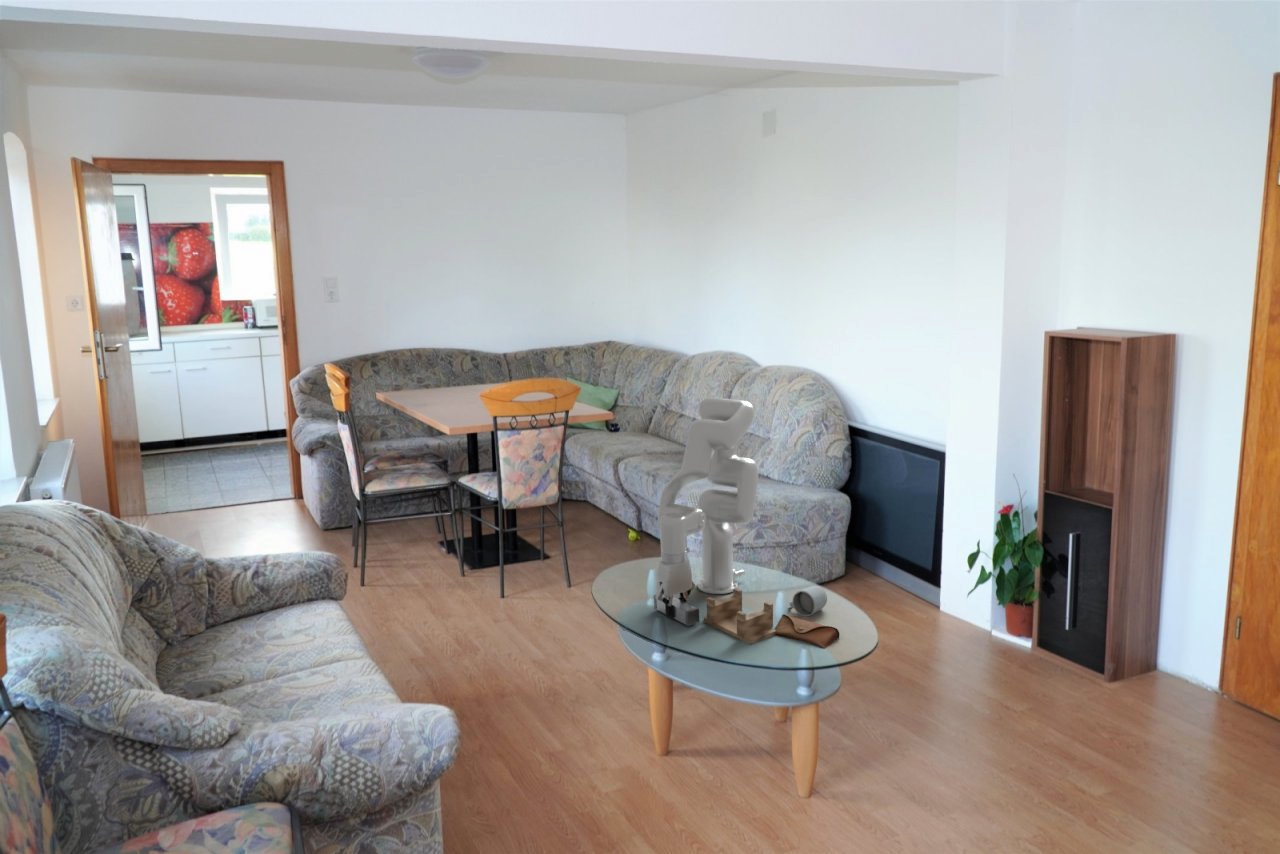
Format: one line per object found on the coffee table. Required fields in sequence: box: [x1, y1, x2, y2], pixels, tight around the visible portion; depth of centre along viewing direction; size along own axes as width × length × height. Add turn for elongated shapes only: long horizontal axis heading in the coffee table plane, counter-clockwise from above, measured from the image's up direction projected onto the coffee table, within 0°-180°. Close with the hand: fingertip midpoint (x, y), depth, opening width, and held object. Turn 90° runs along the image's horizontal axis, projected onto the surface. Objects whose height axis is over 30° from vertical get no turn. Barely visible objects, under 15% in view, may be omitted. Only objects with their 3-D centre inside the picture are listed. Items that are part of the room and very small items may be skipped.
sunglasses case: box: [774, 613, 840, 649], centre depth 285 cm, size 18×7×7 cm, turn 55°
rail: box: [653, 593, 700, 627], centre depth 299 cm, size 4×16×4 cm, turn 36°
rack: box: [703, 587, 777, 645], centre depth 290 cm, size 11×20×8 cm, turn 36°
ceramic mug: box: [788, 585, 828, 618], centre depth 301 cm, size 11×8×8 cm
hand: (676, 613), depth 299 cm, fingers closed on rail, 4 cm apart
